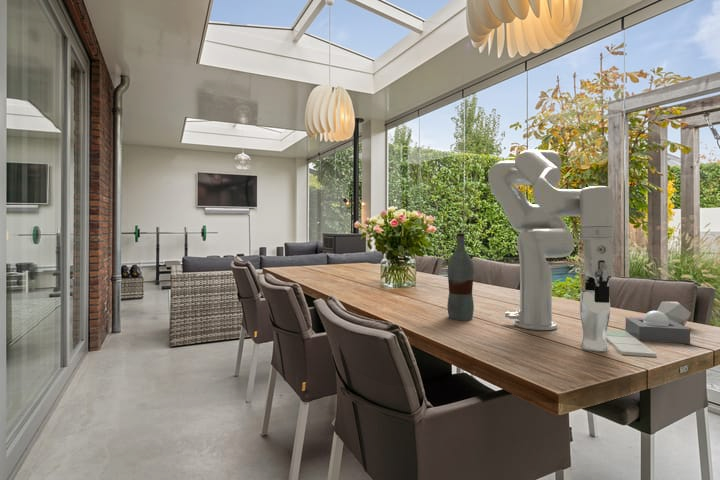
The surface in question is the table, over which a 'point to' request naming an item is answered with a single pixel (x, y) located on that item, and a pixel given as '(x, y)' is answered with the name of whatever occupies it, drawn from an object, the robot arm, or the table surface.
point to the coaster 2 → (623, 340)
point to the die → (675, 312)
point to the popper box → (658, 331)
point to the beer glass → (594, 322)
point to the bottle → (460, 283)
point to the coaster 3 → (634, 350)
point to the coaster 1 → (618, 333)
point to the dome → (656, 318)
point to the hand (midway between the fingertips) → (596, 299)
